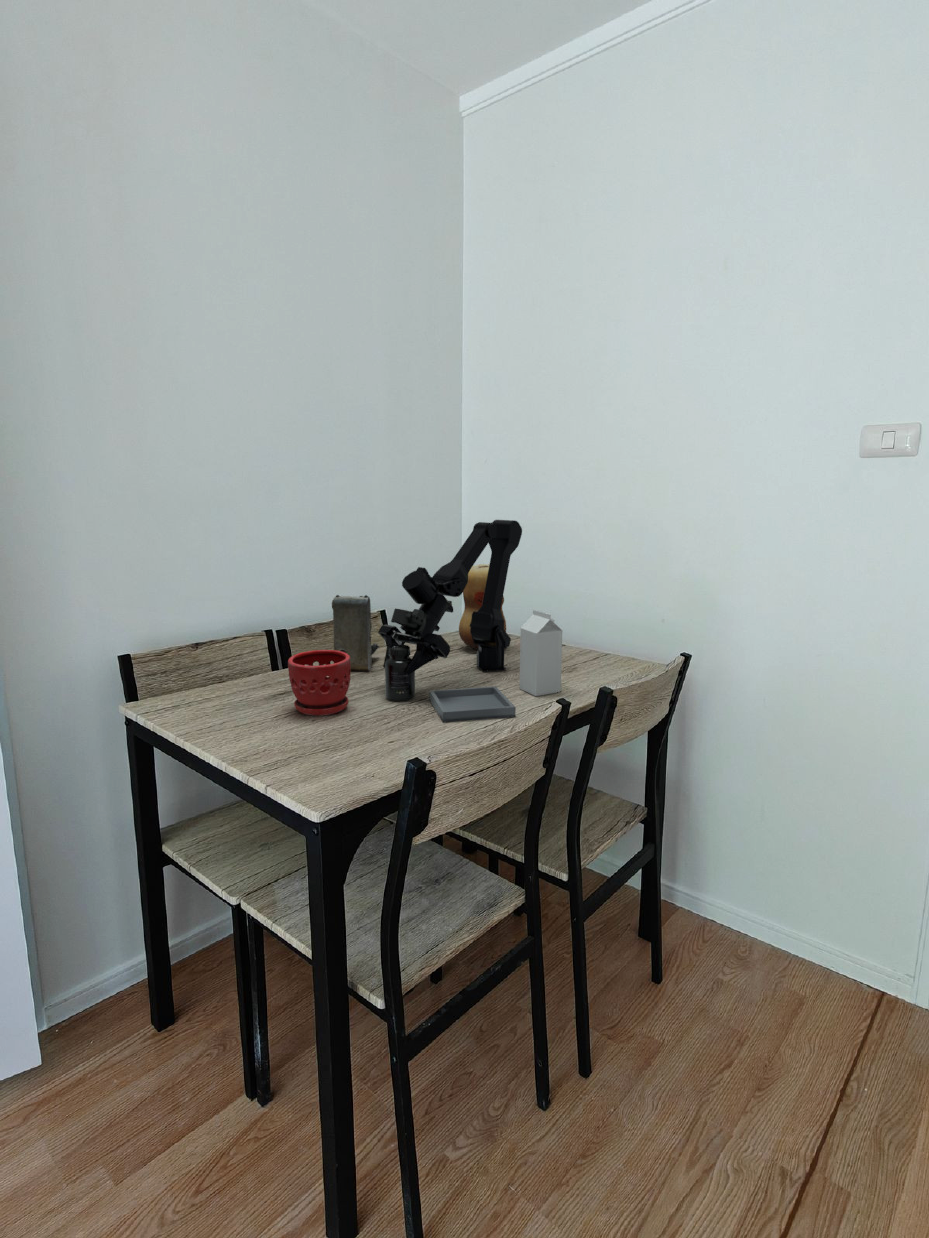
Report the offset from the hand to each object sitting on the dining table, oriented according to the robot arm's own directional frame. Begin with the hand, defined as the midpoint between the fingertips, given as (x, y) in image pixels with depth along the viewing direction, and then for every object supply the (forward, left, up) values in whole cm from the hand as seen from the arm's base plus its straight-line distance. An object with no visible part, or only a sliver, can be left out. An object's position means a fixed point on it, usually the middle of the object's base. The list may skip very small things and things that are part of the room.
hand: (395, 670), depth 163 cm
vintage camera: (+6, -33, -7) cm, 34 cm away
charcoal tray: (-15, +10, -7) cm, 19 cm away
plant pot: (+17, +4, -7) cm, 19 cm away
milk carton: (-34, +1, -7) cm, 35 cm away
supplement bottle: (-1, -1, -7) cm, 7 cm away
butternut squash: (-31, -42, -7) cm, 53 cm away
